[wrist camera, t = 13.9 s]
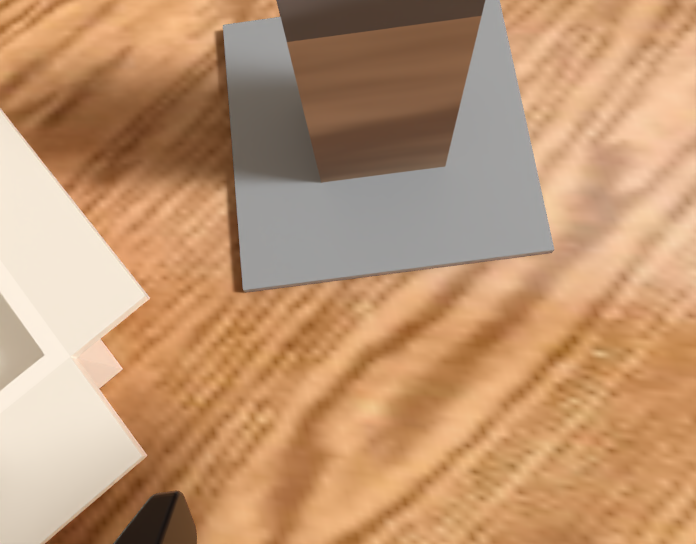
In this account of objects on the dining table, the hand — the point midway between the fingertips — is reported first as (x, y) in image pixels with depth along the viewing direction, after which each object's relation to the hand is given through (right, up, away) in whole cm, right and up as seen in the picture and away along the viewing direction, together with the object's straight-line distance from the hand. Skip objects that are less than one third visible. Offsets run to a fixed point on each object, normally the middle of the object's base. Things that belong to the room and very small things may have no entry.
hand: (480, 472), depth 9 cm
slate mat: (-1, +9, +16) cm, 18 cm away
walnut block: (-1, +9, +15) cm, 18 cm away
